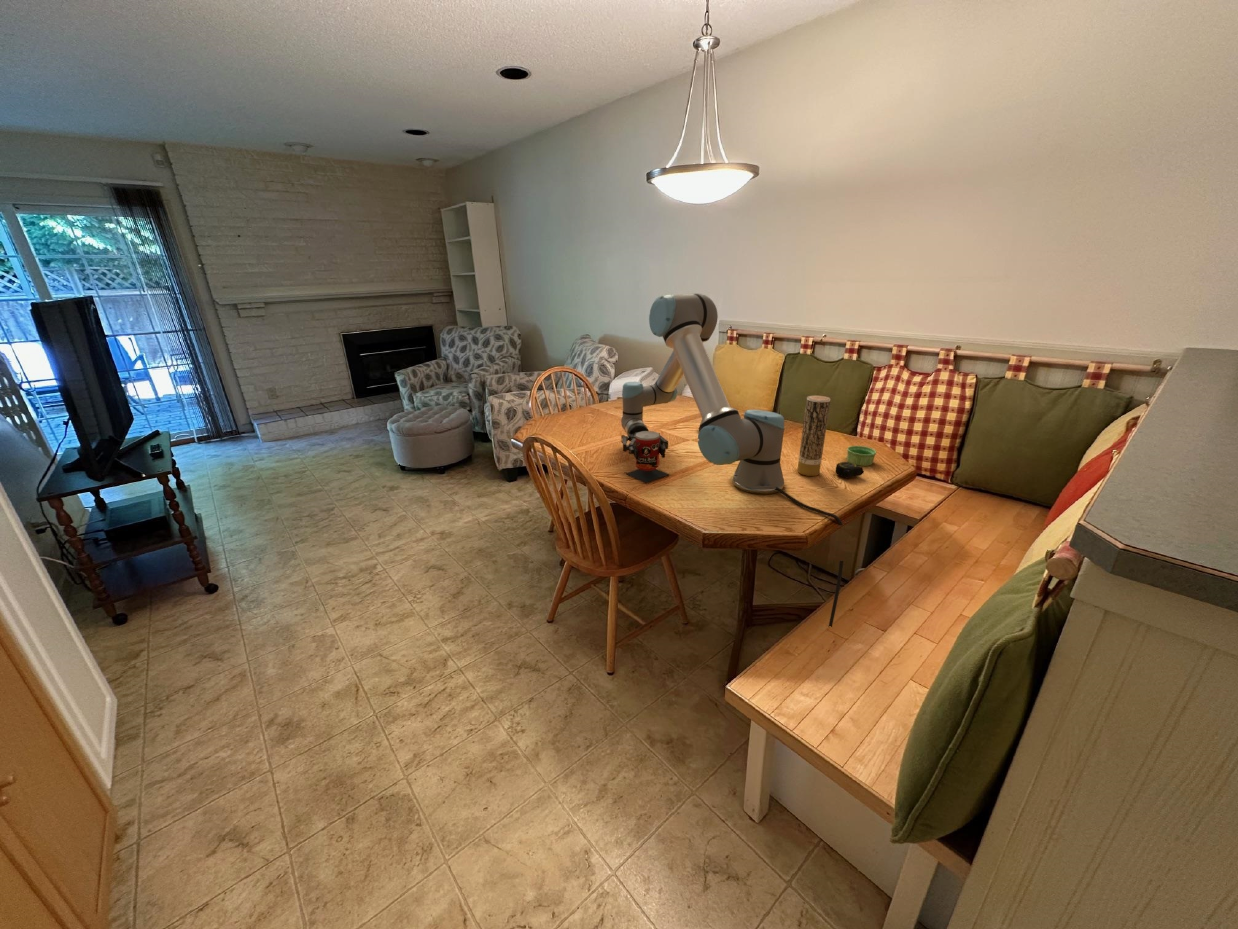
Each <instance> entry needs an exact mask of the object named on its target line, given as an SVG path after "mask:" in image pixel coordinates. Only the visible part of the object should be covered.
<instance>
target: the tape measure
mask: <svg viewBox="0 0 1238 929" xmlns="http://www.w3.org/2000/svg"><path fill="white" fill-rule="evenodd" d="M864 472H865V470H864V468H863V466H859V465H856V464H854V463H850V462H848V461H840V462H838V463H837V464H836V466H835V474H836V475H837V476H839V477H842V478H846V479H851V478H855V477H859V476H862V475H864V474H865V473H864Z"/></svg>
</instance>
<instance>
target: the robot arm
mask: <svg viewBox="0 0 1238 929" xmlns="http://www.w3.org/2000/svg"><path fill="white" fill-rule="evenodd" d="M717 309H718V308H717V305H716V304H715V302H714V301H713V300H712V299H711V298H710V297H709V296H707V295H706V294H703V293H688V294H687V293H686V294H671V293H670V294H665V295H660V296H658V297H657V298H656V299H655V300H654V301H653V303H652V304H651V306H650V310H649V315H648V317H649V318H648V323H649V328H650V331H651V333H652V334H653V335H654V336H656V337H658V338H662V339H663V342H664V344H665V346H666V347H668V348H670V349H672V352H671V353H670V356H669V357H668V359H667V361H666V363H665V365H664V366H663V368H662V370H661V372H660V374H659V376H658V377H657V379H656V380H655V382H654V384H650V385H644V383H642V382H640V381H627V382H625V383H623V385H622V390H621V391H622V392H621V397H622V416H621V419H620V423H621V427H622V429H623V430H624V432H625V434H626V435H624V434H622V435H621V436H620V443H621V444H622V452H623V453H624V452H628V455H633V456H634V458H635V460H636V459H638V449H637V448H636V434H637V433H638V432H642V431H650V430H649V428H648V427H647V426H646V424H645V422H644V421H643V419H644V418H643V416H644V408H645V407H652V406H656V405H662V404H663V405H665V404H669V403H671V402H674V401H675V400H676V399H677V396H678V388H677V387H678V385H679V383H680V382H681V380H682V378H683V376H684V378H685V381H686V383H687V386H688V388H689V390H690V393H691V395H692V398H693V401H694V403H695V406H696V408H697V410H698V412H699V415H700V417H701V421H700V423H699V426H700V429H701V430H700V432H699V431H698V435H697V439H698V441H697V445H698V449H699V451H700V453H701V455H702V456H703V458H704V459H705V460H706V461H708V462H709V463H711V464H713V465H715V466H723V465H732V464H734V463H736V462H738V464H737V466H736V468H735V471H734V473H733V475H732V484H733V486H734V487H736V489H739V490H740V491H744V492H746V493H750V494H756V495H773V494H777V493H779V494H782V495H783V496H785V497H786V498H787V499H789V500H791V501H792V502H793V503H795V504H796V505H798V506H800V507H802V508H804V509H807V510H810V511H812V512H816V513H818V514H821V515H824V516H827V517H830V518H832V519H834V520H835V521H836V522H837V524H838V525H840V526H843V525H844V524H843V522H842V519H840V517H838V515H836V514H834V513H832V512H827V511H825V510H822V509H819V508H816V507H813V506H810V505H808V504H805V503H803V502H801V501H799V500H798V499H796V498H794V497H793V496H791V495H790V494H789V493H787V492H786V491H784V486H785V478H784V474H783V469H782V464H781V459H782V449H783V443H784V442H783V441H784V434H785V418H784V417H783V415H782V414H780V413H777V412H775V411H774V412H773V411H769V410H762V409H747V410H745V411H744V414H743V418H742V417H741V415H740V412H739V411H738V410H739V409H736V408H734V407H731V405H730V403H729V401H728V399H727V396H726V393H725V392H724V390H723V387H722V384H721V383H720V380H719V378H718V375H717V373H716V371H715V368H714V366H713V364H712V361H711V359H710V356H709V355H708V353H707V350H706V348H705V345H704V343H705V342H708V341H709V340H710V338H711V337H712V335H713V333H714V331H715V330H716V327H717V325H718V318H719V315H718V314H719V313H718V310H717ZM658 433H659V435H660V448H659V456H661V458H663V459H665V458H666V452H667V450H668V449H669V441H668V439H666V438H664V436H662V435H661V433H660V432H658ZM628 442H629V443H628ZM843 568H844V560H839V563H838V572H837V580H836V587H835V591H834V598H833V602H832V608H831V612H830V616H829V617H830V618H829V621H828V627H829V626H831V627H832V628H833V624H834V620H835V614H836V611H837V610H836V609H837V606H838V600H839V594H840V590H841V582H842V576H843V570H844V569H843Z"/></svg>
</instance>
